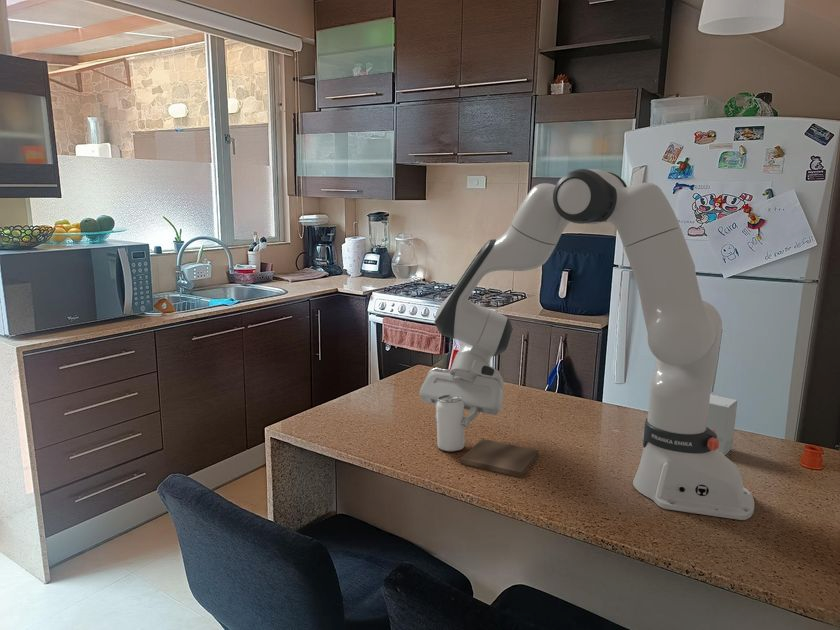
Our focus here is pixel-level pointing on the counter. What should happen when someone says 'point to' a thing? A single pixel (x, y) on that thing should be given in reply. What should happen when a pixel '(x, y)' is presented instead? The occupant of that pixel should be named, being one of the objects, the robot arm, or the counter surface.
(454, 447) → the can
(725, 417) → the supplement box
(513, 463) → the walnut board
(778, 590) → the counter surface
